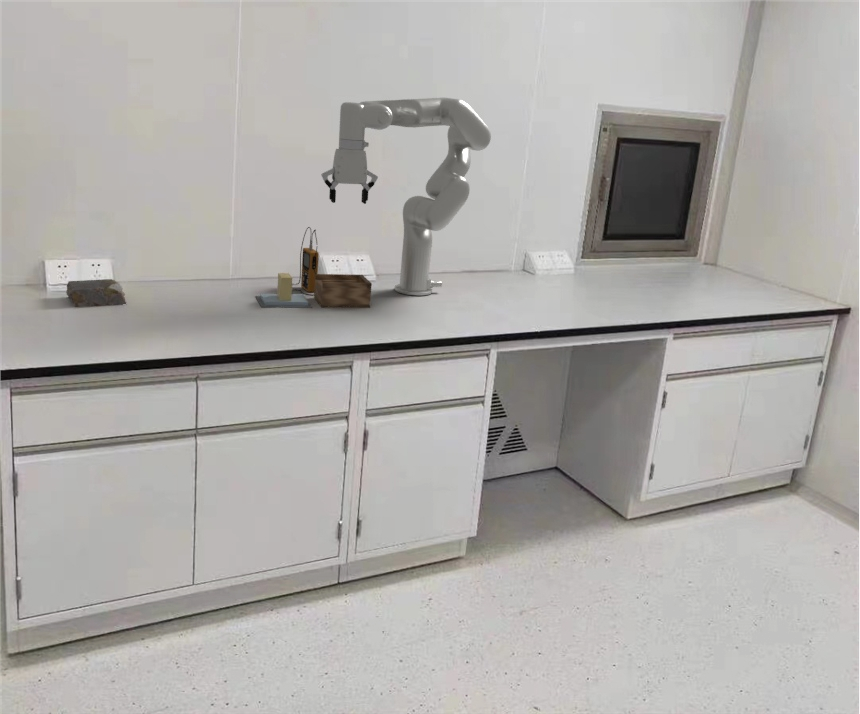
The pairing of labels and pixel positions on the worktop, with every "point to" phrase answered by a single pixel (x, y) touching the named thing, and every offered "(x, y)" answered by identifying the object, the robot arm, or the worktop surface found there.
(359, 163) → the robot arm
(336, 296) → the case
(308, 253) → the multimeter
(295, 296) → the cover plate
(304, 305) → the mat
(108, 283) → the geological specimen
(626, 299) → the worktop surface
